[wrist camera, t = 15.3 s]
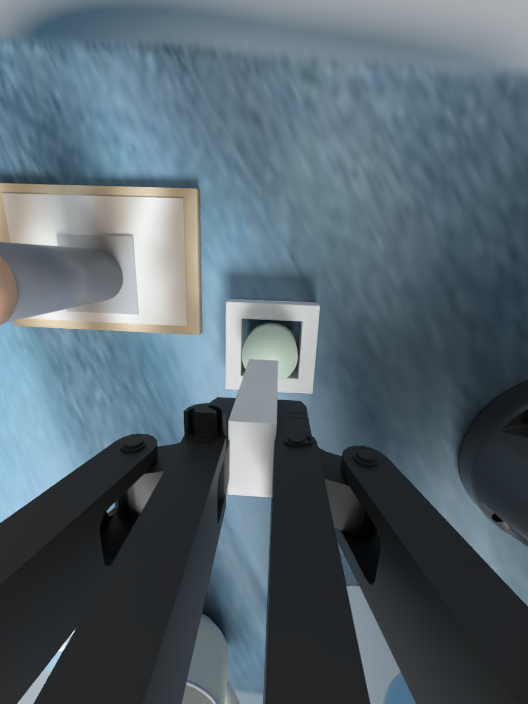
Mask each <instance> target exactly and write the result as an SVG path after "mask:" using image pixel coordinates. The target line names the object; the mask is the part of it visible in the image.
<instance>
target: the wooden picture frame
mask: <svg viewBox="0 0 528 704" xmlns="http://www.w3.org/2000/svg"><path fill="white" fill-rule="evenodd" d="M0 242H7V243H21V244H35V245H49V246H64V247H78V248H92V249H100V250H103V251H106V252H107V253H109V254H110V255H112V256H113V257H114V258H115V259H116V261H117V262H118V263H119V265H120V267H121V270H122V274H123V284H122V287H121V289H120V291H119V293H118V294H117V295H116V296H115V297H113V298H111V299H109V300H105V301H101V302H96V303H92V304H87V305H83V306H78V307H74V308H69V309H65V310H60V311H55V312H51V313H46V314H42V315H37V316H33V317H28V318H24V319H19V320H15V321H14V324H15V326H30V327H51V328H71V329H92V330H112V331H133V332H153V333H174V334H194V335H200V334H201V333H202V301H201V244H200V191H199V190H198V189H194V188H157V187H121V186H84V185H47V184H10V183H0Z"/></svg>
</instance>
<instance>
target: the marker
mask: <svg viewBox="0 0 528 704" xmlns="http://www.w3.org/2000/svg"><path fill="white" fill-rule="evenodd" d="M122 284H123V274H122V270H121V267H120V265H119V263H118V262H117V261H116V259H115V258H114V257H113V256H112V255H110V254H109V253H107V252H106V251H103V250H100V249H92V248H78V247H64V246H49V245H35V244H21V243H7V242H0V325H1V324H3V323H6V322H10V321H15V320H19V319H24V318H28V317H33V316H37V315H42V314H46V313H51V312H55V311H60V310H65V309H69V308H74V307H78V306H83V305H87V304H92V303H96V302H101V301H105V300H109V299H111V298H113V297H115V296H116V295H117V294H118V293H119V291H120V289H121V287H122Z"/></svg>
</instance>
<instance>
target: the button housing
mask: <svg viewBox="0 0 528 704" xmlns="http://www.w3.org/2000/svg"><path fill="white" fill-rule="evenodd" d="M319 312H320V306H319V305H318V304H317V303H316V302H295V301H272V300H249V299H230V300H228V301H227V302H226V389H235V390H239V388H240V385H241V382H242V379H243V376H244V373H245V370H246V369H245V367H244V365H243V362H242V349H243V346H244V344H245V319H262V320H284V321H300V331H299V346H298V361H297V369H294V371H293V372H292V373H291V374H290V375H289V376H288V377H287V378H286V379H284V380H282V381H279V382H278V388H277V392H288V393H306V394H312V393H313V382H314V370H315V358H316V347H317V335H318V323H319Z"/></svg>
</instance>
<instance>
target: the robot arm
mask: <svg viewBox="0 0 528 704" xmlns="http://www.w3.org/2000/svg"><path fill="white" fill-rule="evenodd" d="M277 388H278V360H258V359H249V361H248V364H247V367H246V370H245V373H244V376H243V379H242V382H241V385H240V388H239V391H238V394H237V397H236V398H222V397H217V398H216V399H214V400H213V401H211V402H210V403H203V404H197V405H193V406H191V407H188V408H187V409H186V410H185V411H184V431H185V435H184V437H183V439H182V441H181V442H180V443H178V444H173V445H167V446H159V447H157V440H156V439H155V438H154V437H153V436H150V435H148V434H132V435H129V436H126V437H123V438H121V439H119V440H117V441H115V442H114V443H112V444H111V445H110V446H108V447H107V448H105V449H104V450H103V451H101V452H100V453H98V454H97V455H96V456H94V457H93V458H91V459H90V460H88V461H87V462H86V463H84V464H83V465H81V466H80V467H79V468H77V469H76V470H74V471H73V472H72V473H70V474H69V475H67V476H66V477H65V478H63V479H62V480H60V481H59V482H57V483H56V484H55V485H53V486H52V487H50V488H49V489H48V490H46V491H45V492H43V493H42V494H41V495H39V496H38V497H36V498H35V499H34V500H32V501H31V502H29V503H28V504H26V505H25V506H24V507H22V508H21V509H19V510H18V511H17V512H15V513H14V514H12V515H11V516H10V517H8V518H7V519H5V520H4V521H3V522H1V523H0V704H17V703H18V701H19V700H20V699H21V698H22V697H23V695H24V694H25V693H26V691H27V690H28V689H29V688H30V686H31V685H32V683H33V682H34V681H35V680H36V679H37V677H38V676H39V675H40V674H41V672H42V671H43V670H44V668H45V667H46V666H47V665H48V663H49V662H50V661H51V660H52V658H53V657H54V656H55V654H56V653H57V652H58V651H59V649H60V648H61V647H62V646H63V644H64V643H65V642H66V640H67V639H68V638H69V637H70V635H71V634H72V633H73V631H74V630H75V631H74V633H73V634H72V636H71V638H70V640H69V642H68V643H67V645H66V647H65V649H64V651H63V652H62V654H61V656H60V658H59V659H58V661H57V663H56V665H55V667H54V668H53V670H52V672H51V674H50V675H49V677H48V679H47V681H46V683H45V684H44V686H43V688H42V690H41V692H40V693H39V695H38V697H37V699H36V700H35V702H34V704H182V700H183V696H184V692H185V687H186V683H187V678H188V674H189V669H190V665H191V660H192V656H193V651H194V647H195V642H196V638H197V633H198V629H199V624H200V620H201V615H202V611H203V606H204V602H205V597H206V593H207V588H208V584H209V579H210V575H211V570H212V566H213V561H214V557H215V553H216V548H217V544H218V539H219V535H220V530H221V526H222V521H223V517H224V512H225V508H226V490H227V486H228V494H229V495H243V496H258V497H272V501H271V520H270V547H269V572H268V596H267V620H266V644H265V669H264V693H263V704H370V699H369V694H368V689H367V685H366V680H365V675H364V670H363V665H362V660H361V655H360V650H359V645H358V641H357V636H356V631H355V626H354V621H353V616H352V611H351V606H350V601H349V597H348V592H347V587H346V582H345V577H344V572H343V567H342V562H341V557H340V553H339V548H338V543H337V540H338V542H339V545H340V547H341V549H342V551H343V553H344V555H345V557H346V559H347V561H348V563H349V565H350V567H351V569H352V572H353V574H354V576H355V578H356V580H357V582H358V584H359V586H360V588H361V590H362V592H363V594H364V597H365V599H366V601H367V603H368V605H369V607H370V609H371V611H372V613H373V615H374V617H375V619H376V621H377V624H378V626H379V628H380V630H381V632H382V634H383V636H384V638H385V640H386V642H387V644H388V646H389V649H390V651H391V653H392V655H393V657H394V659H395V661H396V663H397V665H398V667H399V669H400V671H401V672H400V673H399V674H398V675H396V676H395V677H394V679H393V680H392V681H391V683H390V684H389V686H388V689H387V691H386V694H385V697H384V702H383V704H528V606H527V605H526V604H525V603H524V602H523V601H522V600H521V599H520V598H519V597H518V596H517V595H516V594H515V593H514V592H513V591H512V589H511V588H510V587H509V586H508V585H507V584H506V583H505V582H504V581H503V580H502V579H501V578H500V577H499V576H498V575H497V574H496V573H495V571H494V570H493V569H492V568H491V567H490V566H489V565H488V564H487V563H486V562H485V561H484V560H483V559H482V558H481V557H480V556H479V554H478V553H477V552H476V551H475V550H474V549H473V548H472V547H471V546H470V545H469V544H468V543H467V542H466V541H465V540H464V539H463V537H462V536H461V535H460V534H459V533H458V532H457V531H456V530H455V529H454V528H453V527H452V526H451V525H450V524H449V523H448V522H447V521H446V519H445V518H444V517H443V516H442V515H441V514H440V513H439V512H438V511H437V510H436V509H435V508H434V507H433V506H432V505H431V504H430V502H429V501H428V500H427V499H426V498H425V497H424V496H423V495H422V494H421V493H420V492H419V491H418V490H417V489H416V488H415V487H414V486H413V484H412V483H411V482H410V481H409V480H408V479H407V478H406V477H405V476H404V475H403V474H402V473H401V472H400V471H399V470H398V469H397V467H396V466H395V465H394V464H393V463H392V462H391V461H390V460H389V459H388V458H387V457H386V456H385V455H383V454H382V453H381V452H379V451H377V450H375V449H373V448H370V447H366V446H352V447H348V448H347V449H345V450H344V451H343V454H342V456H339V455H335V454H331V453H328V452H326V451H324V450H322V449H320V448H319V447H318V445H317V442H316V440H315V438H314V437H312V435H311V430H310V425H309V419H308V414H307V408H306V406H305V405H304V404H303V403H302V402H301V401H292V400H277ZM459 471H460V476H461V480H462V483H463V486H464V488H465V490H466V491H467V493H468V495H469V496H470V497H471V499H472V500H473V501H474V502H475V503H476V505H477V506H478V507H479V508H480V509H481V511H482V512H483V513H484V514H485V515H486V516H487V517H488V518H489V519H490V520H491V521H492V522H493V523H494V524H495V525H497V526H498V527H499V528H501V529H502V530H504V531H505V532H507V533H508V534H510V535H512V536H513V537H514V538H516V539H517V540H519V541H520V542H522V543H523V544H525V545H526V546H528V382H526V383H523V384H521V385H519V386H517V387H515V388H513V389H511V390H509V391H507V392H506V393H504V394H502V395H501V396H499V397H498V398H497V399H495V400H494V401H493V402H492V403H490V404H489V405H488V406H487V407H486V408H485V409H484V410H483V411H482V412H481V413H480V414H479V415H478V417H477V418H476V419H475V420H474V422H473V423H472V425H471V426H470V428H469V430H468V432H467V434H466V436H465V438H464V440H463V443H462V446H461V450H460V456H459ZM114 503H115V507H114V508H113V509H112V510H111V511H110V512H109V513H107V512H106V511H107V510H108V509H109V507H110V506H111V505H113V504H114Z"/></svg>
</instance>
